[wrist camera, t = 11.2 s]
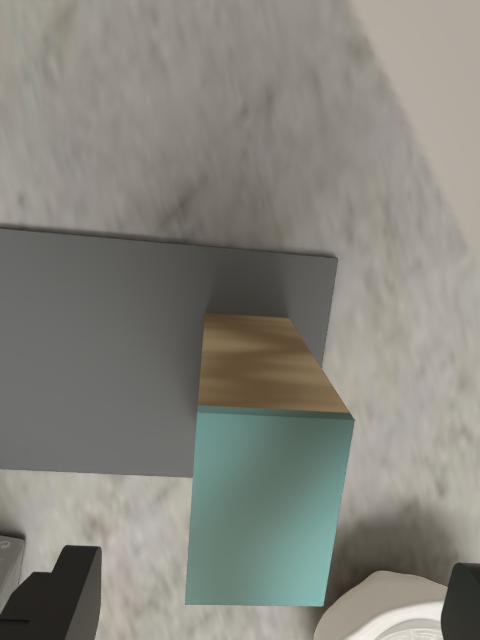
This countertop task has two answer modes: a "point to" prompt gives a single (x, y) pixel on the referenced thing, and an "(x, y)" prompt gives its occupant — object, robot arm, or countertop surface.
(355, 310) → the countertop surface
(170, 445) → the mat
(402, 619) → the cell model
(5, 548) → the skincare box
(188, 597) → the block
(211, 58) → the countertop surface
